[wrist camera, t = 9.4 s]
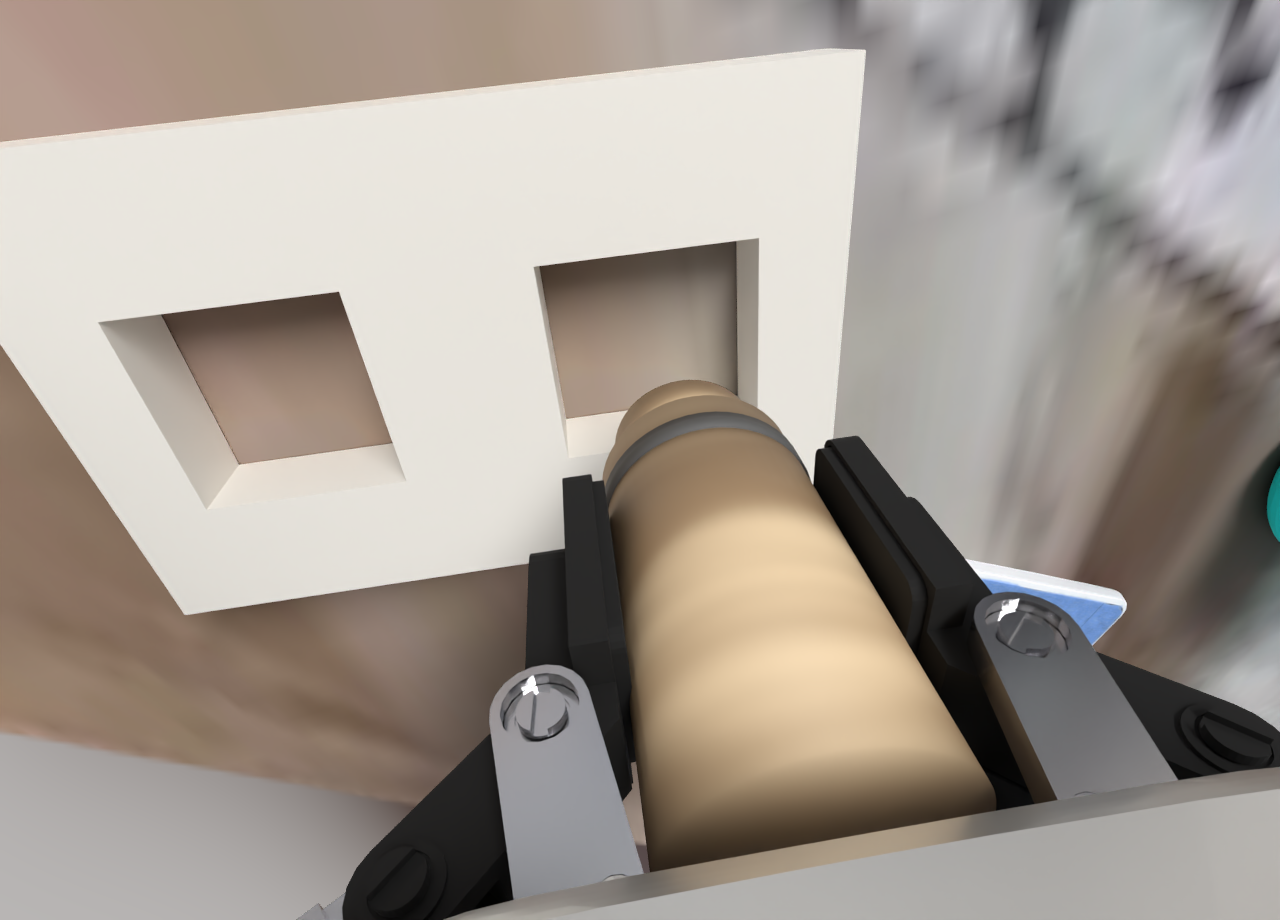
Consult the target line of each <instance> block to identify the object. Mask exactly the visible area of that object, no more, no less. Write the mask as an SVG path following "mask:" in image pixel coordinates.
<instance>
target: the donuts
mask: <svg viewBox="0 0 1280 920" xmlns="http://www.w3.org/2000/svg"><path fill="white" fill-rule="evenodd" d="M1267 517H1268V521H1269V524H1270V527H1271V529H1272V532H1273V534H1274V536H1275V537H1276V538H1277V540H1278V541H1279V542H1280V467H1279V468H1278V470H1277V472H1276V474H1275V476H1274V479H1273V481H1272V484H1271V487H1270V490H1269V494H1268V500H1267Z"/></svg>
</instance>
